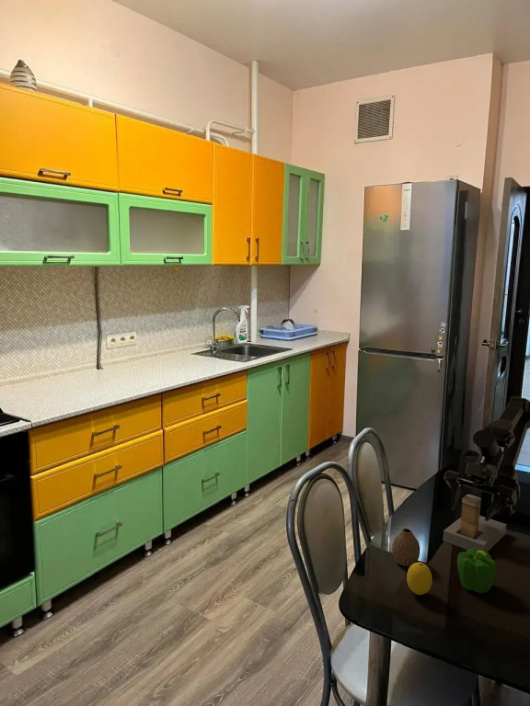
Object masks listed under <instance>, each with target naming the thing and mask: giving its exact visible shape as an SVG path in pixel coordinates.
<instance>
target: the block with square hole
mask: <svg viewBox="0 0 530 706" xmlns="http://www.w3.org/2000/svg"><path fill="white" fill-rule="evenodd" d="M485 517H486V516H482V515H480V516H479V529H478V538H477V539H476V540H475V539H472V538H469V537H466V536H464V535H461V534H460V529H461V517H459V518H458V519H456V520H455V521H454V522H452V523H451V524H450V525H449V526H448V527H446V528H445V529H443V534H442V535H443V537H442V542H446V543H448V544H451V545H452V546H453V545H454V546H456V547H458V548H461V549H464V550H466V551H467V550H469V549H472V548H473V549H475V550H478V551H479V550H482V551H484V552H488V553H489V551H490V550H491V549H492V548H493V547H494V546H495V545H496V544H497V543H498V542H499V541H500V540H501V539H502V538H503V537H504V536H505V535H506V533H507V523H503V522H501V521H497V520H494V519H492V518H490V519H489V520H488V521H485Z"/></svg>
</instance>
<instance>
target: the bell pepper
mask: <svg viewBox="0 0 530 706" xmlns="http://www.w3.org/2000/svg"><path fill="white" fill-rule="evenodd" d="M456 561H457V562H456V565H457V572H458V577H459V581H460V584H461V586H462V587H463V588H464V589H466V590H468V591H474V592H475V593H478V594H485V593H488V592H489V591H490V590H491V589H492V586H493V584H494V581H495V579H496V576H497V565H496V562H495V560H494V559H492V556H491V555H490V553H489V551H488V552H484V551H482V550H479V551H478V550H475V549H473V548H472V549H469V550H466V552H463V551H461V552H459V554H458V555H457V559H456Z"/></svg>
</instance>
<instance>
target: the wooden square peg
mask: <svg viewBox="0 0 530 706" xmlns="http://www.w3.org/2000/svg"><path fill="white" fill-rule="evenodd" d="M481 502H482V498H481V497H479V496H475V495H472V494H469V493H468V494H466V495H465V496H464V497H462V499H461V503H462V504H461V515H460V516H461V517H460V518H461V529H460V534H461V535H464V536H466V537H469V538H472V539H475V540H476V539H477V538H478V529H479V516H481V515H480V513H481Z"/></svg>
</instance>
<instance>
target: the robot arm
mask: <svg viewBox="0 0 530 706" xmlns="http://www.w3.org/2000/svg"><path fill="white" fill-rule="evenodd" d="M529 429H530V400H529V399H527V398H525V397H519V396H510V398H509V400H508V404H507V405H506V407H505V409H504V410H503V412H502V413H501V415H500V416H499V418H498V419H496V420H493V421H491V422H490V423H488V425H487V426H484V427H483V429H479V430H478V431H476V432H474V434H473V436H472V441H473V444H474V446H475V448H476V451H477V453H478V454H479V456H478V459H477V460H475V462H471V461H470V462H469V461H467V463H466V467H465V471H464V473H465V474H466V475H467V478H469V479H467V478H464V477H462V474H461V472H457V471H454V470H450V469H448V470H447V471H445V472H444V474H443V480H444V481H445V483H446V485H447V486H448V487H449V489H450V491H451V492H450V493H451V499H450V500H451V502H450V503H451V506H450V508H451V511H455V509H456V507H457V505H458V503H459V499H460V497H461V495H462V493H463V491H462V490H461V489H463V488H464V487H466V488H470V489H473V490H477V491H480V492H484V493H486V494H487V493H488V494H490V495H492V496H491V503H490V505H489V508H488V509H486V514H485V516H484V517H485V521H488V520H489V519H492V518H493V517H494V516H499V517H501V518H505V519H510V518H511V517H512V516H513V515H515V513H516V510H515V509H513V507H515V506H516V505H517V503H518V499H520V497H521V487H520V483H519V481H518V479H519V477H518V475H517V472H516V466H517V462H518V460H519V456H520V453H521V451H522V447H523V444H524V442H525V441H524V440H525V438H526V434H527V432H528V430H529ZM501 448H503V449H501Z"/></svg>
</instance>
